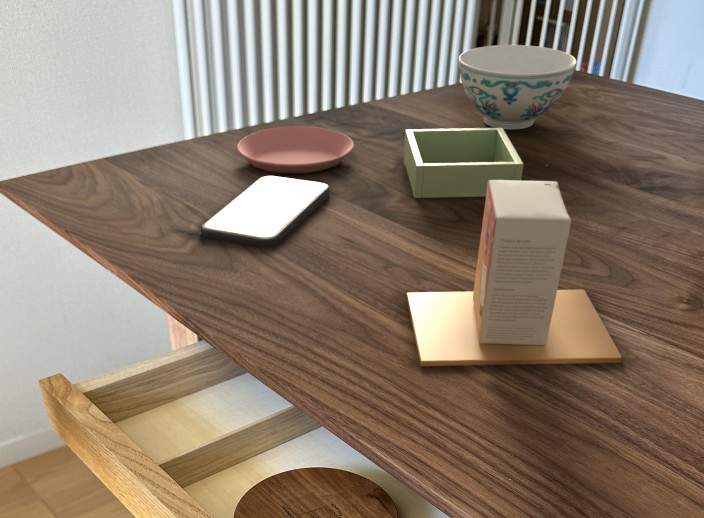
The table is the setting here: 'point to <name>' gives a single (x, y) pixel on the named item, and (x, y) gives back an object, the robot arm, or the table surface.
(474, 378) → the table surface
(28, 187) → the table surface
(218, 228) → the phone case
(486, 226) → the small box
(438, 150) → the open bin
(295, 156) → the plate
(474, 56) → the chinaware
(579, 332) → the gold metal mat
